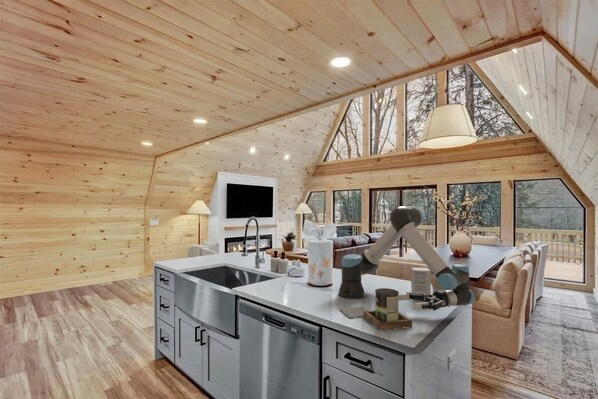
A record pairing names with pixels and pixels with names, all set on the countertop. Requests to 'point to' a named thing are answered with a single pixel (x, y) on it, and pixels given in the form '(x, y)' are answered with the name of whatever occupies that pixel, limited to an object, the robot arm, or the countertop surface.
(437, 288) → the coffee cup
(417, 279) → the supplement box
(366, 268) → the robot arm
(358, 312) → the mat
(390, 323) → the brown wooden square frame
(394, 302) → the coffee can
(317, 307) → the countertop surface
